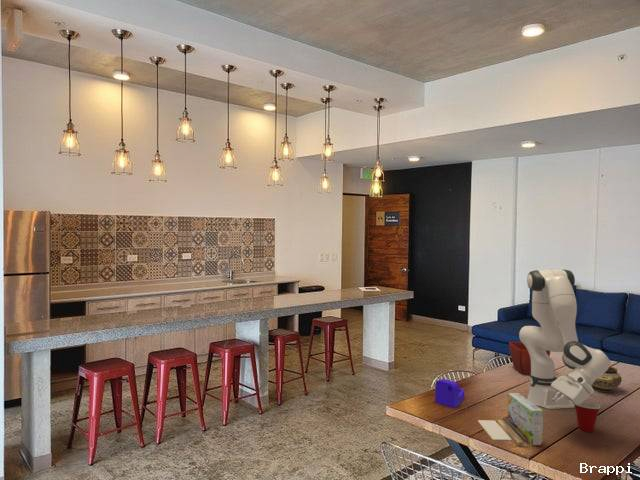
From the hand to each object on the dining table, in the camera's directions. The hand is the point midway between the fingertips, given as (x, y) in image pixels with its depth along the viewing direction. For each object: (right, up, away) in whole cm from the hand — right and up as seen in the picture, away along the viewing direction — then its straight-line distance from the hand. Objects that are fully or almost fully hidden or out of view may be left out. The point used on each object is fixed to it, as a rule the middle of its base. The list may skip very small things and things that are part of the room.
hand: (555, 402), depth 209 cm
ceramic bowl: (+58, -14, +63) cm, 87 cm away
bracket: (-33, -13, +41) cm, 54 cm away
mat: (-25, -14, +5) cm, 29 cm away
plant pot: (+29, -13, +94) cm, 99 cm away
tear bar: (-18, -14, +1) cm, 23 cm away
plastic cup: (+18, -15, +8) cm, 25 cm away
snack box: (-13, -15, +1) cm, 20 cm away
